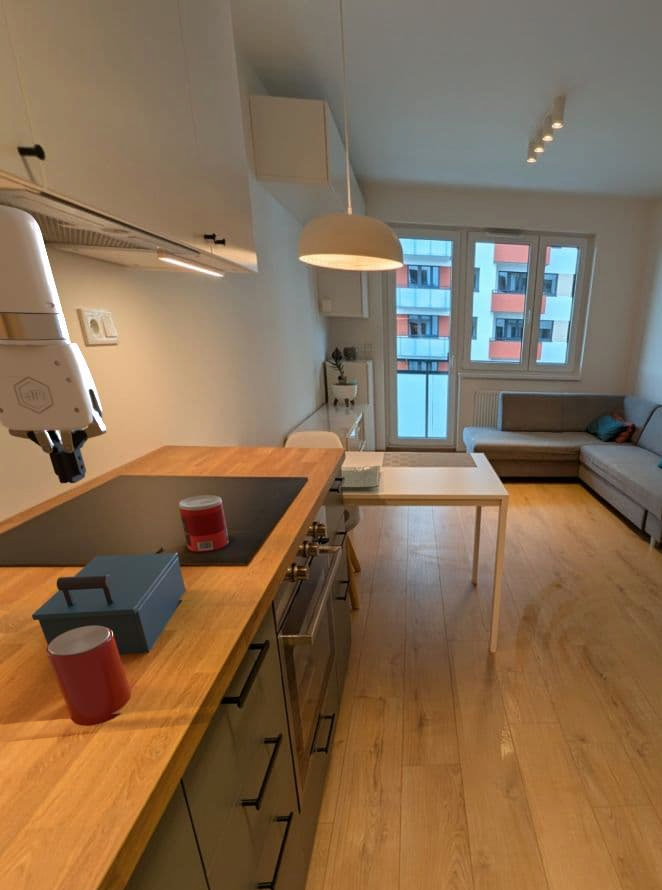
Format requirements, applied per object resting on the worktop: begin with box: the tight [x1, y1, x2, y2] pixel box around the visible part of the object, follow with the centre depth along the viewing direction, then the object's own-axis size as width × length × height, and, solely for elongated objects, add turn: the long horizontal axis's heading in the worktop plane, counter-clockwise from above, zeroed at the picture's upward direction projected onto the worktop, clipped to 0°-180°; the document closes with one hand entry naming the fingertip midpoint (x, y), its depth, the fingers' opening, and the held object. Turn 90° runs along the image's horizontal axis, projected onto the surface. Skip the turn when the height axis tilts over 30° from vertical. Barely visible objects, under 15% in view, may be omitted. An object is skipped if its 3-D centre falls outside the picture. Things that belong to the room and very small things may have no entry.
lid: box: [31, 552, 179, 621], centre depth 76 cm, size 18×13×5 cm
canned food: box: [178, 494, 230, 553], centre depth 105 cm, size 8×8×11 cm
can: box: [45, 626, 132, 726], centre depth 62 cm, size 7×7×10 cm
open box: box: [38, 557, 186, 656], centre depth 79 cm, size 18×13×8 cm
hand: (73, 480), depth 68 cm, fingers closed
